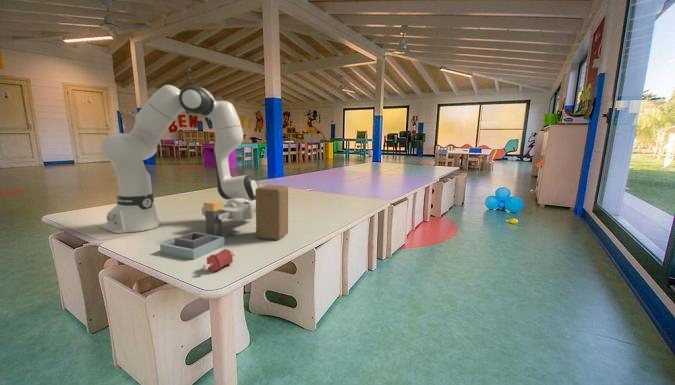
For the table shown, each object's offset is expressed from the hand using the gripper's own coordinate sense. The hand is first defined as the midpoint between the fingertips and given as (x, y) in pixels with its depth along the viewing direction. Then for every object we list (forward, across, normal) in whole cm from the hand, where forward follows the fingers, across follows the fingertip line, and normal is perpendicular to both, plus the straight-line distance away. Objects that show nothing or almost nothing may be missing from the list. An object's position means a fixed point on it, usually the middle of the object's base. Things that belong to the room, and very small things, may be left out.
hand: (211, 216), depth 107 cm
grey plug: (-1, 0, +8) cm, 9 cm away
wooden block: (-12, +19, +9) cm, 24 cm away
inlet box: (+11, +2, +9) cm, 14 cm away
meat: (+19, +20, +9) cm, 29 cm away
